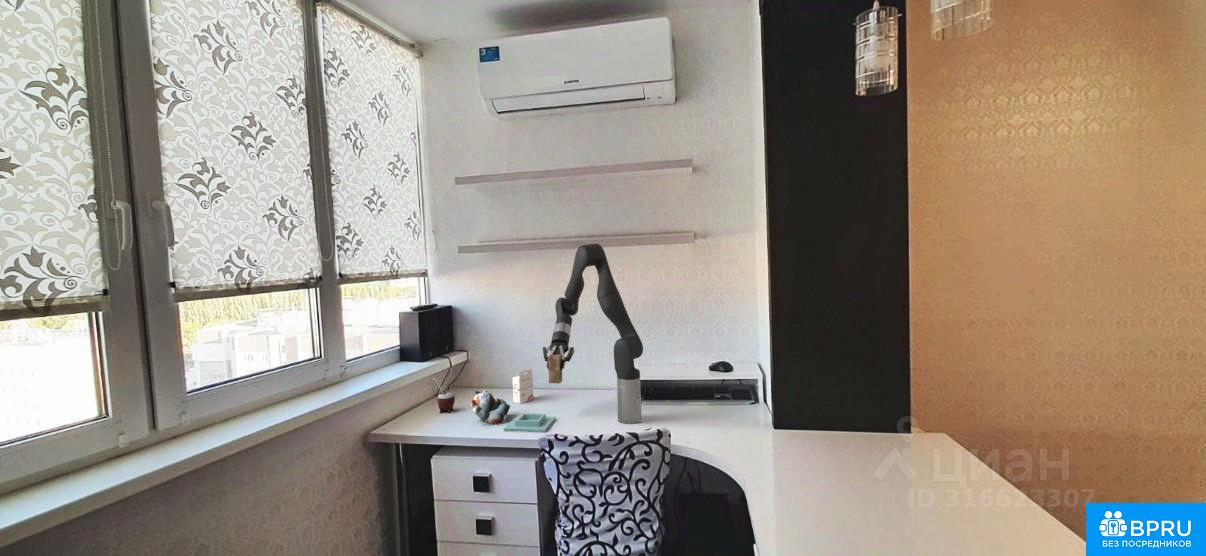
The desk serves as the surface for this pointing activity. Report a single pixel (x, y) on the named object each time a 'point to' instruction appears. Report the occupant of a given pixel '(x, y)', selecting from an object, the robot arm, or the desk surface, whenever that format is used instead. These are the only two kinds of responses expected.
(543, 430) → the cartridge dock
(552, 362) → the walnut block
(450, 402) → the mate gourd
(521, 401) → the ink cartridge box
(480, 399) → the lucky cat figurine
